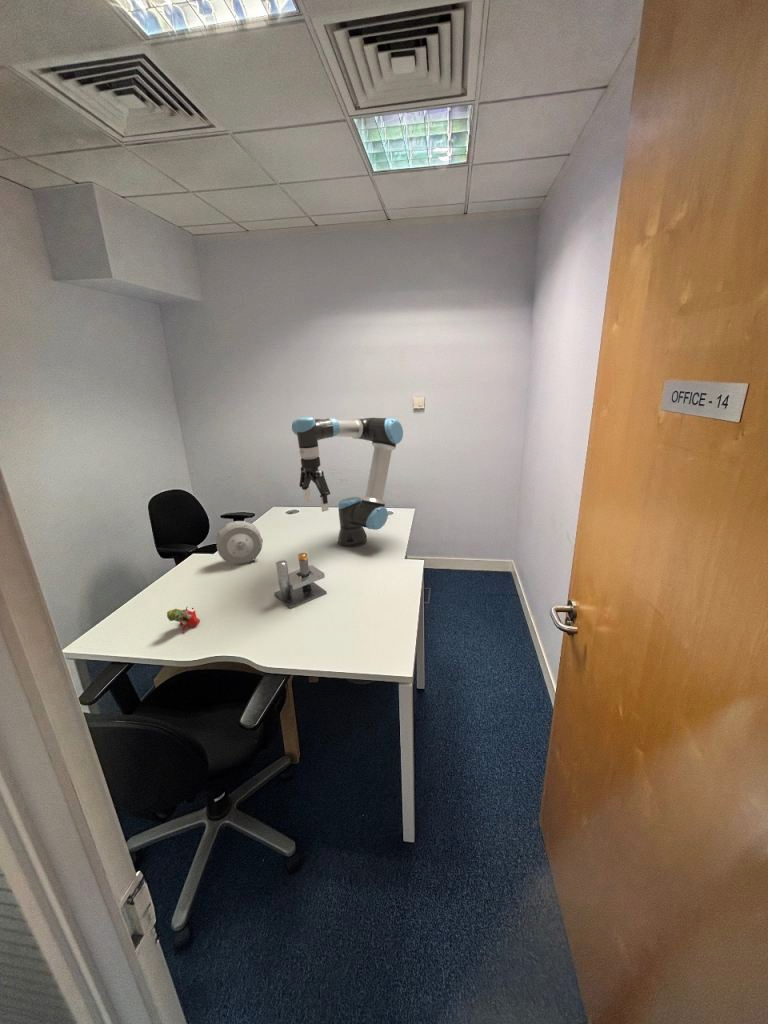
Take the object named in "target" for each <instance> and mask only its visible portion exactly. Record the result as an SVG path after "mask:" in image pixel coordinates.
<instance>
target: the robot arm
mask: <svg viewBox="0 0 768 1024" xmlns="http://www.w3.org/2000/svg"><path fill="white" fill-rule="evenodd" d="M291 430H292V433H293V434H295V435H296V436H297V437H296V438H297V442H298V443H297V444H298V449H299V452H298V453H299V455H300V456H299V457H300V465H301V467H300V476H299V477H300V479H299V487H300V488H301V489H302V492H303V499H304V505H310V504H312V498H311V497H312V496H311V489H310V484H311V481H312V482H313V483H314V484H315V487H316V489H317V490H318V492H319V494H320V496H319V499H320V506H321V512H323V513H324V512H326V511H329V503H328V502H329V500H328V496H329V495H331V491H330V489H329V486H328V483H327V481H326V478H325V474H324V471H323V470H319V467H321V459H320V450H319V441H320V440H325V439H329V438H333V437H338V438H339V437H343V438H344V437H351V438H352V439H355V440H364V441H367V442H371V445H372V446H373V454H372V459H371V464H370V468H369V469H370V470H369V475H368V481H367V488H366V491H365V496H364V497H363V498H362V499H361V498H360V497H358V496H356V497H355V496H354V497H353V496H352V497H347V498H344V499H341V500H339V502H338V509H337V510H338V517H339V519H338V520H339V527H340V529H339V532H338V536H337V543H338V544H339V545H340V546H342V547H345V548H346V547H349V548H353V547H359V546H362V545H364V544H366V543H367V541H368V536H367V533H366V531H365V528H366V529H369V530H374V531H375V530H376V531H377V530H380V529H382V528H383V527H384V526H385V524H386V523H387V521H388V517H389V512H388V509H387V508H386V507H385V506H386V503H385V501H384V494H385V489H386V483H387V479H388V478H387V477H388V473H389V467H390V463H391V457H392V452H393V451H394V450H396V447H397V444H400V443H401V441H402V440H403V438H404V430H403V426H402V424H401V422H400V421H399V420H398V419H397V418H392V417H391V418H390V417H365V418H354V419H351V420H345V419H337V418H334V417H330V418H325V419H324V418H323V419H322V418H315V417H314V416H307V417H299V418H296V419H294V420H293V421H292V422H291Z"/></svg>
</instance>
